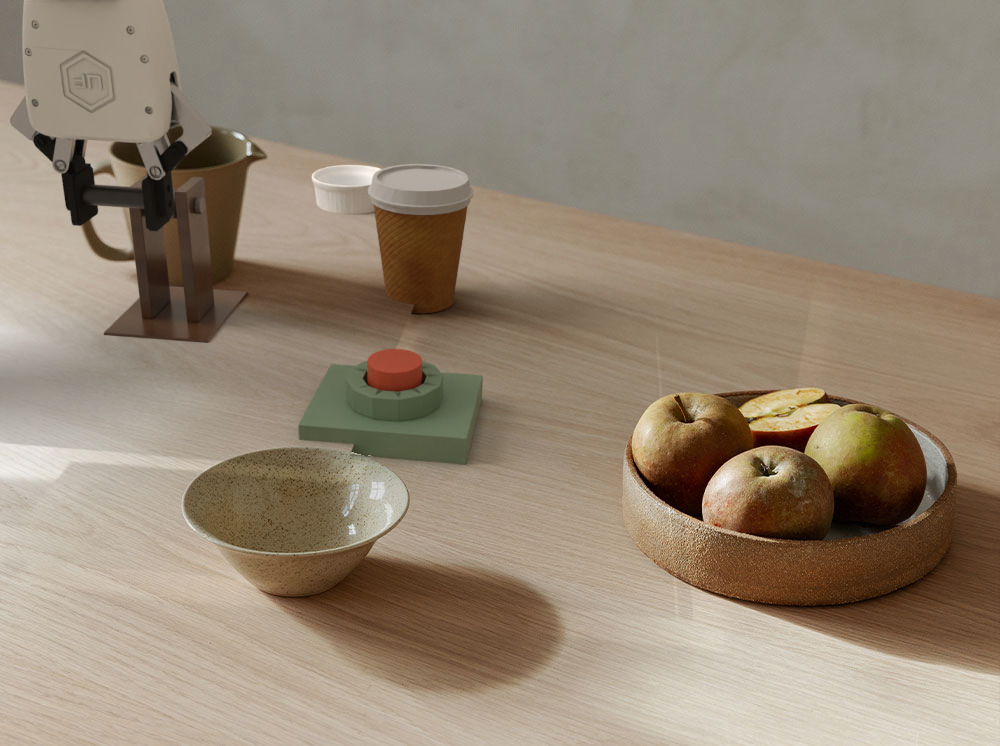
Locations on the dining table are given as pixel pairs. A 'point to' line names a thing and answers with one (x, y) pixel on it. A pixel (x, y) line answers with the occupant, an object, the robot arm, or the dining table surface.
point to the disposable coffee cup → (420, 231)
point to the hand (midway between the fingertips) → (122, 220)
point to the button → (394, 370)
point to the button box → (396, 415)
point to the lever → (116, 196)
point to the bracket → (197, 303)
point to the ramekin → (344, 188)
